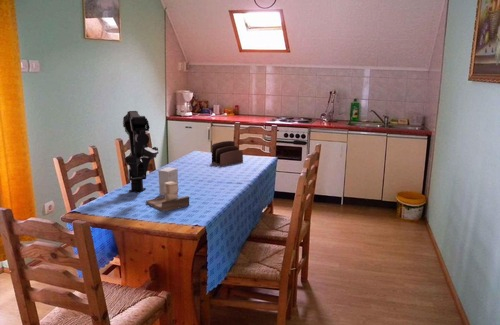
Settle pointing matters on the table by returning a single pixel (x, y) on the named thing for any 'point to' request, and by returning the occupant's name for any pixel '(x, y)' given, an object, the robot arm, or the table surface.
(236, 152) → the letter holder
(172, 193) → the beige rectangular block
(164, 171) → the small box
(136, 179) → the robot arm
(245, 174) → the table surface
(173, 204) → the brown wooden tray
